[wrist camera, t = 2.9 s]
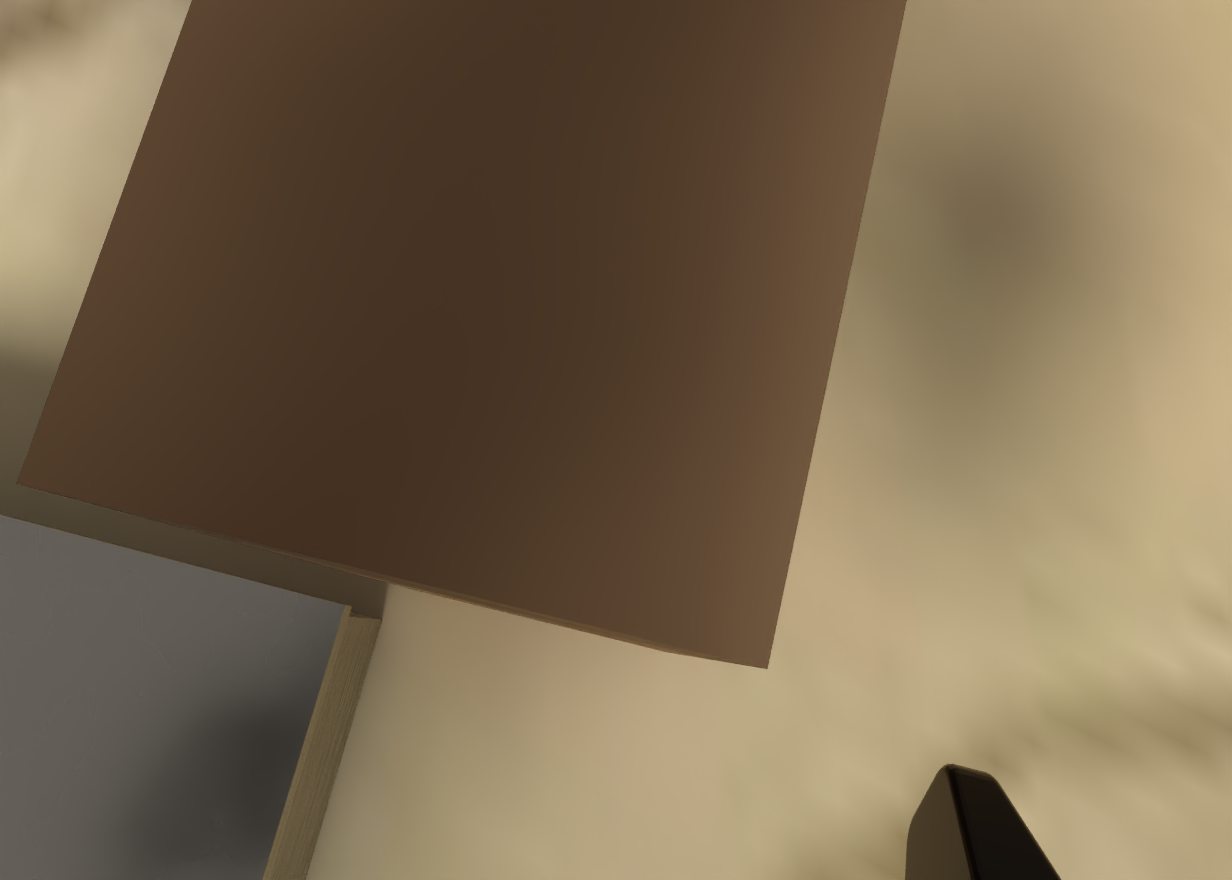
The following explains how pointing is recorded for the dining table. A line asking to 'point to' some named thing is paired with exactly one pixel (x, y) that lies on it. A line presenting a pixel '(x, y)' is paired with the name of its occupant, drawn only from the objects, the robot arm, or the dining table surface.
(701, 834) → the dining table surface
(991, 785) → the robot arm
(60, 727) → the slate tin
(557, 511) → the walnut block
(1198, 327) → the dining table surface
